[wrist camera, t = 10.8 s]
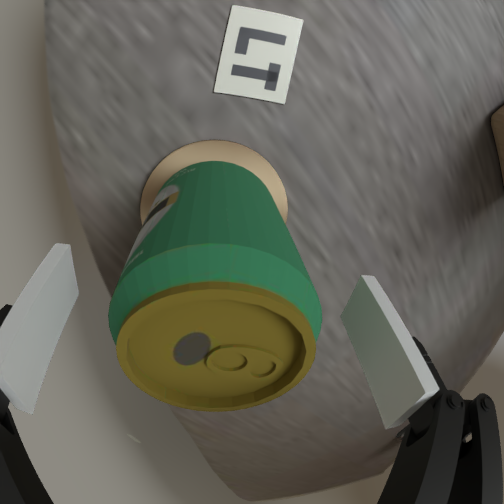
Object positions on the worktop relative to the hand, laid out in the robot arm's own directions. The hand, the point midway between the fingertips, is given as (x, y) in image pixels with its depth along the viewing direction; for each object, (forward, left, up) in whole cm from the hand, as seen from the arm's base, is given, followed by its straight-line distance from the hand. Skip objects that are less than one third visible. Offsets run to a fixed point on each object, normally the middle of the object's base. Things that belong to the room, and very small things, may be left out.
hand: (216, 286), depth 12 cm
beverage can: (0, 0, -8) cm, 8 cm away
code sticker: (-11, +1, -9) cm, 14 cm away
